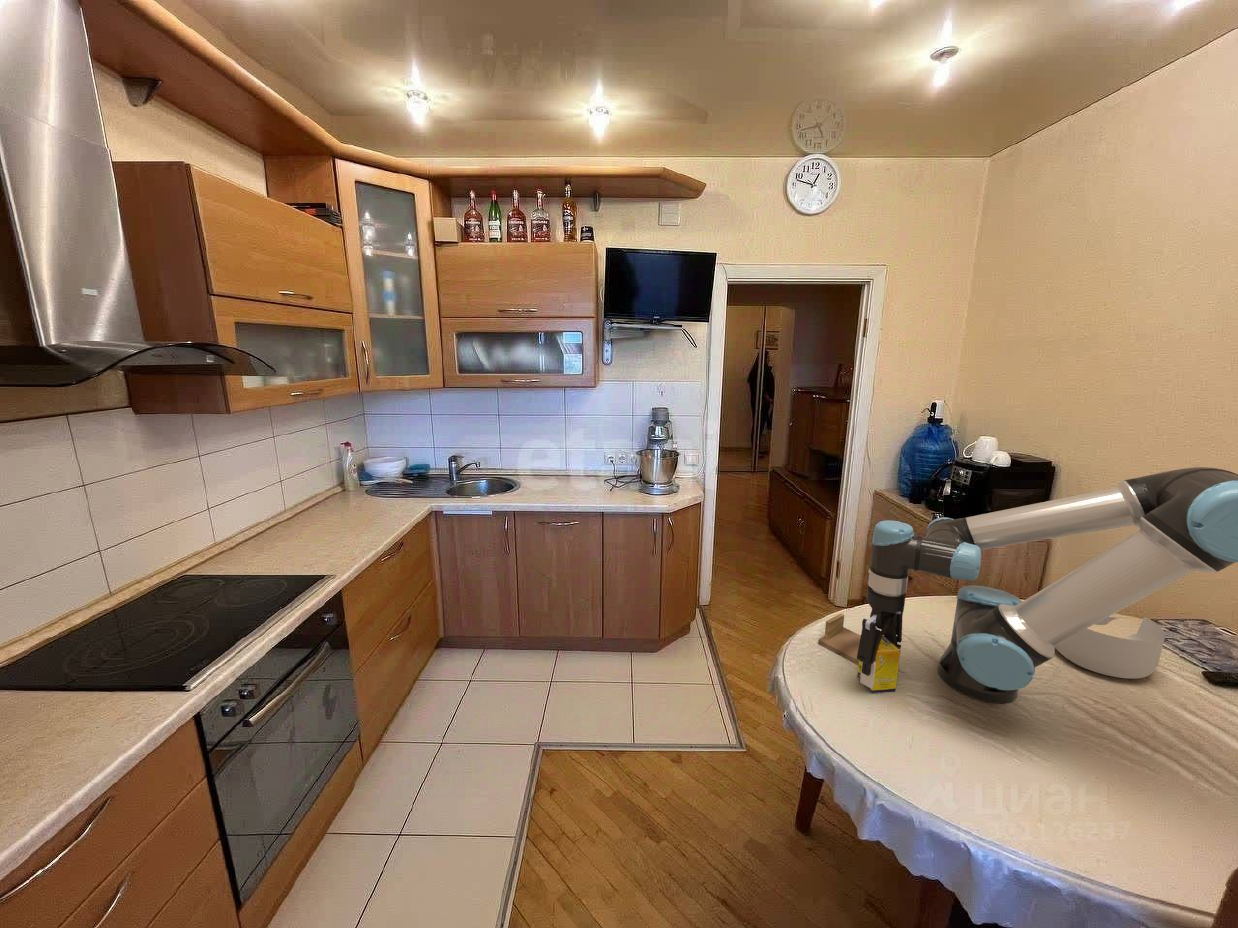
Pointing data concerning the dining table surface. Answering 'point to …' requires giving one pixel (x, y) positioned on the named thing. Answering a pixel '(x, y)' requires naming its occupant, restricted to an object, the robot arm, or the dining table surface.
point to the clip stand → (841, 639)
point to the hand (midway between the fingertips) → (876, 677)
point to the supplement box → (884, 667)
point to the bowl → (1116, 650)
